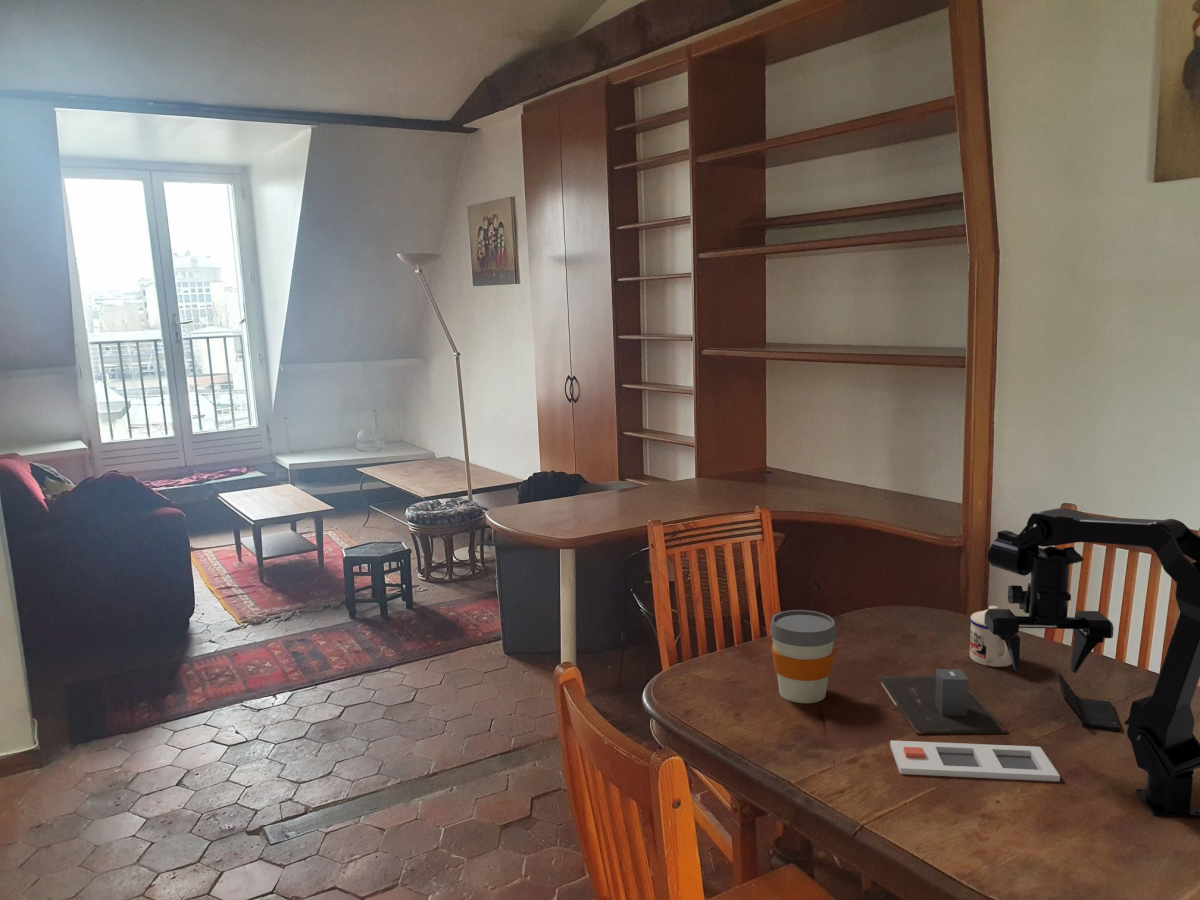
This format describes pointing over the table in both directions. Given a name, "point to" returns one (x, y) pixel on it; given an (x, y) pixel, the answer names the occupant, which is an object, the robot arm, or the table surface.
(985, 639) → the teacup with lid
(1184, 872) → the table surface
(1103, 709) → the handheld gaming console
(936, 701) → the block
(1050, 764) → the power strip
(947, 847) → the table surface
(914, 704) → the hardcover book
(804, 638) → the reusable coffee cup
